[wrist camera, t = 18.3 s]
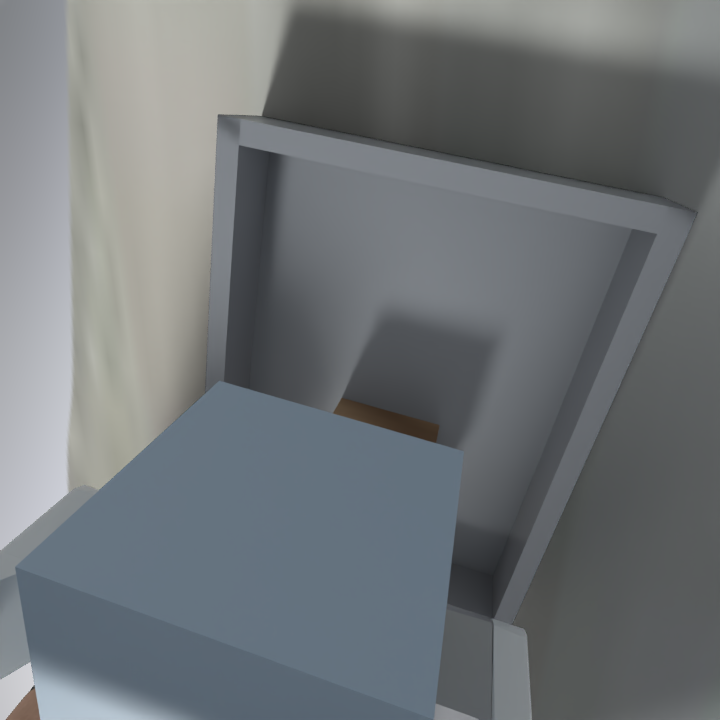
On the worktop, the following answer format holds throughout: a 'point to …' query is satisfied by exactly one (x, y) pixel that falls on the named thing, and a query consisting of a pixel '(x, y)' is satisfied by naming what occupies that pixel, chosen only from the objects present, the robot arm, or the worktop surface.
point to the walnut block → (387, 420)
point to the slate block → (250, 573)
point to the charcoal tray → (438, 312)
